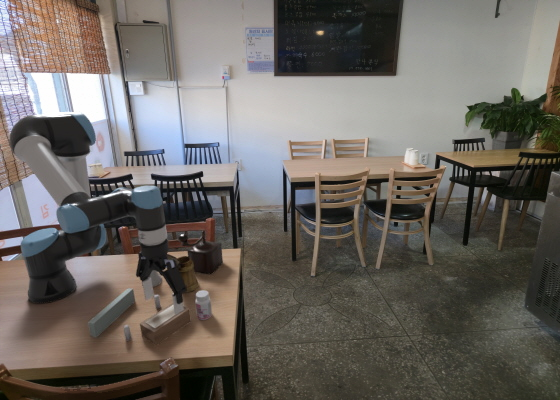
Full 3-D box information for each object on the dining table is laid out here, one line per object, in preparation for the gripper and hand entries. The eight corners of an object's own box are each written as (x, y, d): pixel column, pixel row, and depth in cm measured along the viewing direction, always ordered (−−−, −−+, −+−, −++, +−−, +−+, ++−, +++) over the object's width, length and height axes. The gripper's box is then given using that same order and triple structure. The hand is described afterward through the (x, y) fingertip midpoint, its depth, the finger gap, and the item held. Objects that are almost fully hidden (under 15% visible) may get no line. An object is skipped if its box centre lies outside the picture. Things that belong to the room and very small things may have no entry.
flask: (165, 278, 138) (161, 255, 134) (157, 288, 131) (153, 264, 128) (147, 277, 138) (143, 254, 135) (138, 287, 131) (134, 264, 128)
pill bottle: (195, 320, 112) (192, 297, 110) (199, 311, 117) (196, 289, 114) (209, 320, 112) (207, 298, 109) (213, 311, 117) (211, 289, 114)
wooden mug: (160, 297, 125) (154, 252, 119) (183, 278, 137) (178, 236, 131) (182, 302, 122) (175, 255, 116) (203, 282, 134) (198, 239, 128)
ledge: (91, 336, 106) (87, 322, 105) (130, 300, 124) (128, 288, 122) (127, 342, 103) (125, 328, 102) (162, 304, 121) (160, 292, 119)
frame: (142, 337, 106) (139, 322, 104) (176, 314, 116) (174, 301, 114) (156, 346, 102) (154, 331, 100) (190, 322, 112) (189, 308, 110)
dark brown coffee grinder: (200, 259, 152) (196, 220, 146) (223, 262, 148) (220, 223, 143) (180, 277, 138) (175, 235, 132) (205, 281, 134) (201, 238, 129)
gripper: (116, 236, 103) (128, 298, 109) (172, 255, 90) (182, 325, 96) (138, 227, 109) (148, 287, 115) (194, 244, 95) (202, 311, 102)
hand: (164, 304), depth 106 cm, fingers open, 13 cm apart
